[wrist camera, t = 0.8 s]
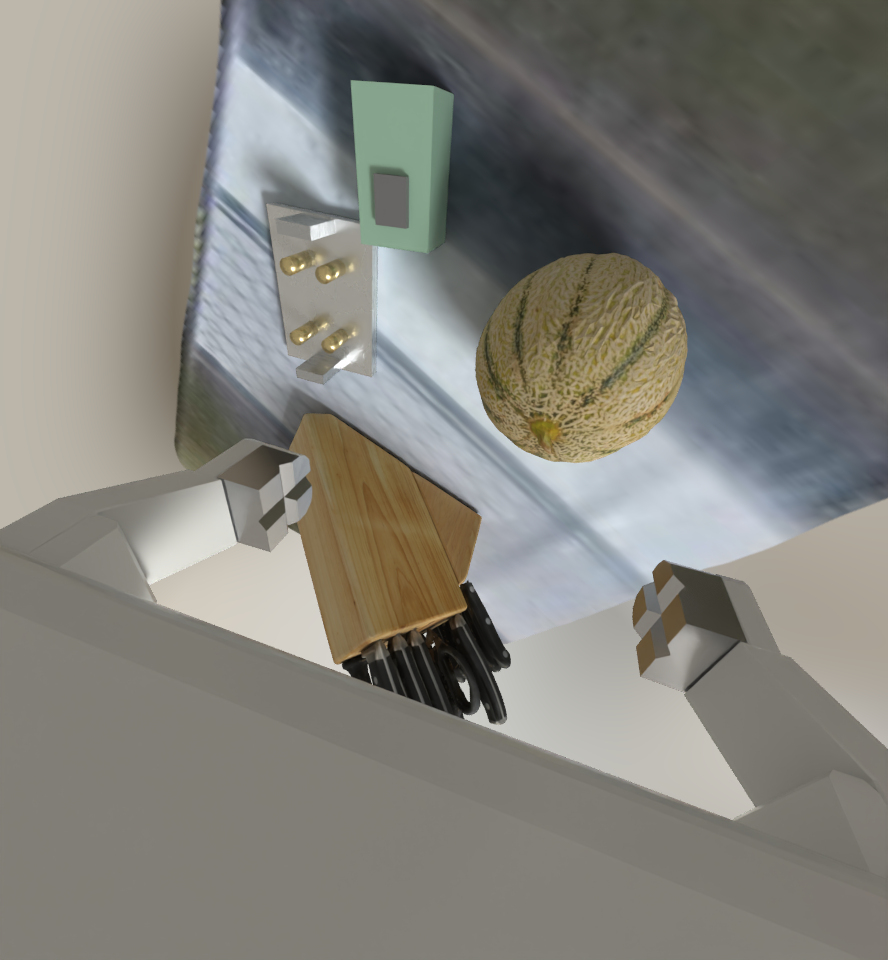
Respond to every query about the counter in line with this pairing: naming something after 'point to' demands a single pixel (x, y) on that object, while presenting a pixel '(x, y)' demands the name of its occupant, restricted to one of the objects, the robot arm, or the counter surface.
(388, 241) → the green box
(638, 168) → the counter surface
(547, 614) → the counter surface
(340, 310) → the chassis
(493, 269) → the counter surface
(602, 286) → the cantaloupe
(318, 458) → the knife block
